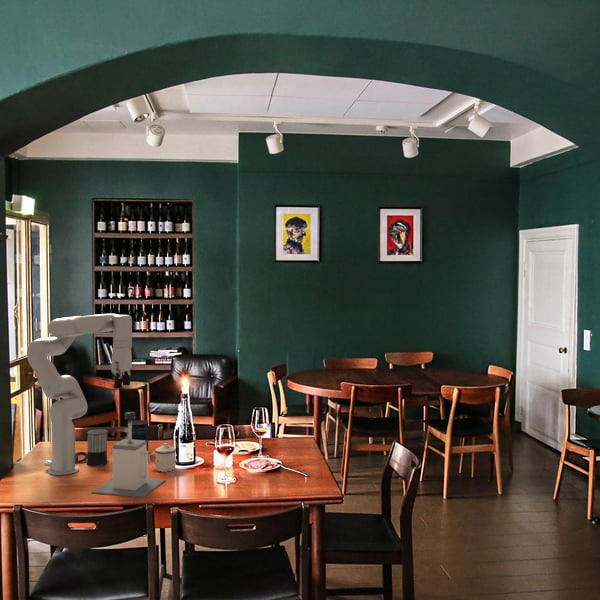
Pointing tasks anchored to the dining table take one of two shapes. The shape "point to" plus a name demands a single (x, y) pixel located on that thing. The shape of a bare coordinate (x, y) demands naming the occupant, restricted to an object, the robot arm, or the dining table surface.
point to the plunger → (129, 424)
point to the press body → (129, 464)
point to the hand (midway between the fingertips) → (122, 386)
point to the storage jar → (140, 431)
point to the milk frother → (95, 448)
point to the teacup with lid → (164, 458)
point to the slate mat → (140, 492)
